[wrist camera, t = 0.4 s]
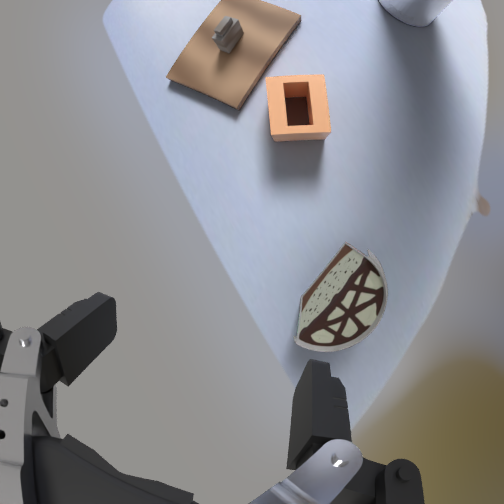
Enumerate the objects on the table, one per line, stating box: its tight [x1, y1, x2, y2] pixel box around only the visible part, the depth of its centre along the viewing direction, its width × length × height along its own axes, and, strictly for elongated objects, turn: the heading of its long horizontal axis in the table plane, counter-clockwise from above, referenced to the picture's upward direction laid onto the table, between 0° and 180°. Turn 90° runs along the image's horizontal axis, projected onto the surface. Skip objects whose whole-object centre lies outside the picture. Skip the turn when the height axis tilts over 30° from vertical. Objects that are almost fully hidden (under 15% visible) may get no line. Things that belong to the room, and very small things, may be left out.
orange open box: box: [265, 75, 331, 142], centre depth 27 cm, size 6×6×6 cm
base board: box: [166, 0, 301, 110], centre depth 25 cm, size 16×11×6 cm
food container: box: [294, 242, 388, 352], centre depth 30 cm, size 12×6×10 cm, turn 146°
